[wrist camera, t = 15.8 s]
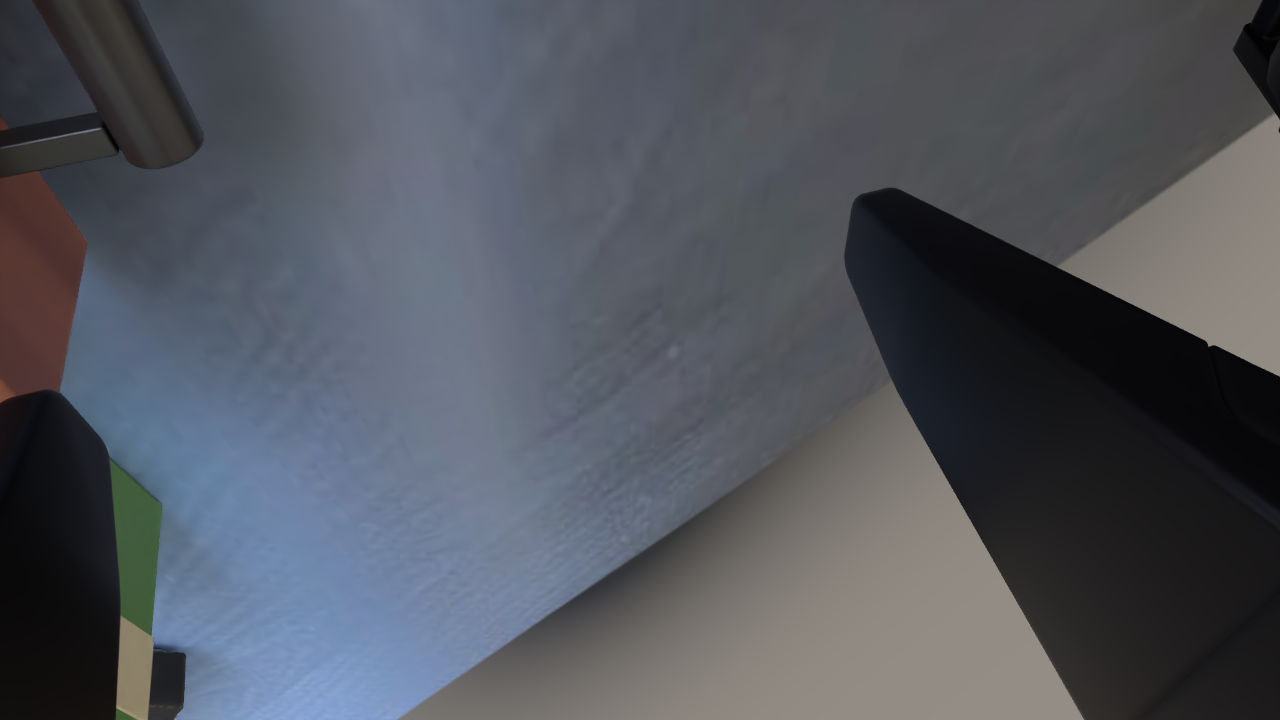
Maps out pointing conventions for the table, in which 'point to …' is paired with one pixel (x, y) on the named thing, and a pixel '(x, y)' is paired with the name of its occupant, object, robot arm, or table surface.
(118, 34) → the drawer
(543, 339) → the table surface
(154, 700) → the disk drive
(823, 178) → the table surface
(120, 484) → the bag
